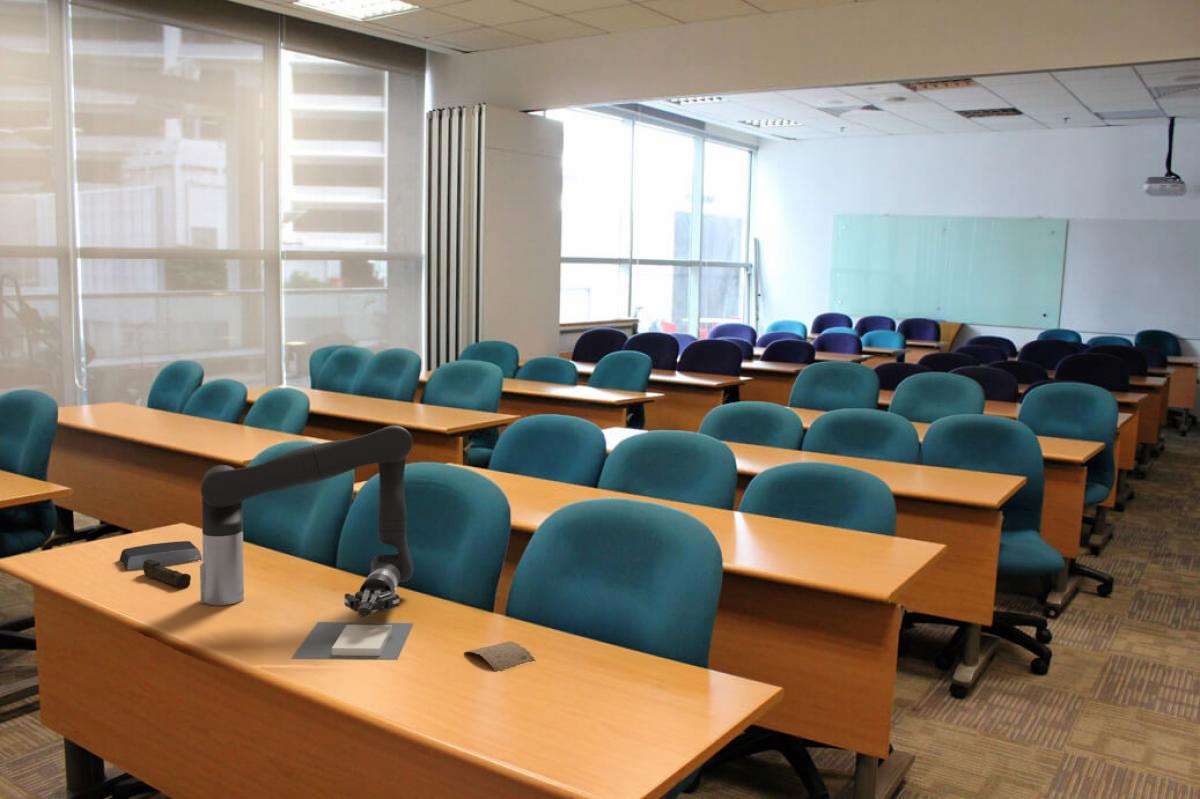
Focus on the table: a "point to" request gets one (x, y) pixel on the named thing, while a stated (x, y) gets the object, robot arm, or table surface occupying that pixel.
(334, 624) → the mat
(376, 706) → the table surface
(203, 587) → the robot arm
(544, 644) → the table surface
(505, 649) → the clay tablet
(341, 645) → the tile
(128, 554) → the external hard drive
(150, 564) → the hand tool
